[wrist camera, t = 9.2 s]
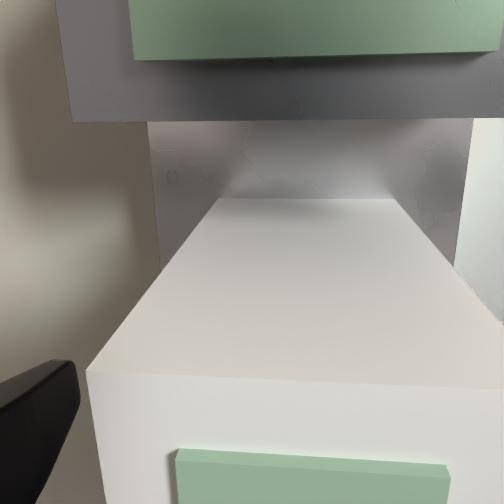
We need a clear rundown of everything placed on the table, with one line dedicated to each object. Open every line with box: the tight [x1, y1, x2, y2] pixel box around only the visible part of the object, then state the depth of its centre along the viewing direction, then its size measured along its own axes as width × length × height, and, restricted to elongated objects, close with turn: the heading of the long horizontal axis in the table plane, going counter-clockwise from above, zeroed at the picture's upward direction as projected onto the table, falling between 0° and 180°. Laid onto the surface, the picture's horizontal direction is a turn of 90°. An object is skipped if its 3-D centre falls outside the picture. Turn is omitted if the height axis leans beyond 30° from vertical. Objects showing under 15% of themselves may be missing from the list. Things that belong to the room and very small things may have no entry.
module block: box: [85, 198, 504, 504], centre depth 8 cm, size 4×6×7 cm, turn 1°
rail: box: [55, 0, 504, 272], centre depth 10 cm, size 7×22×6 cm, turn 1°
